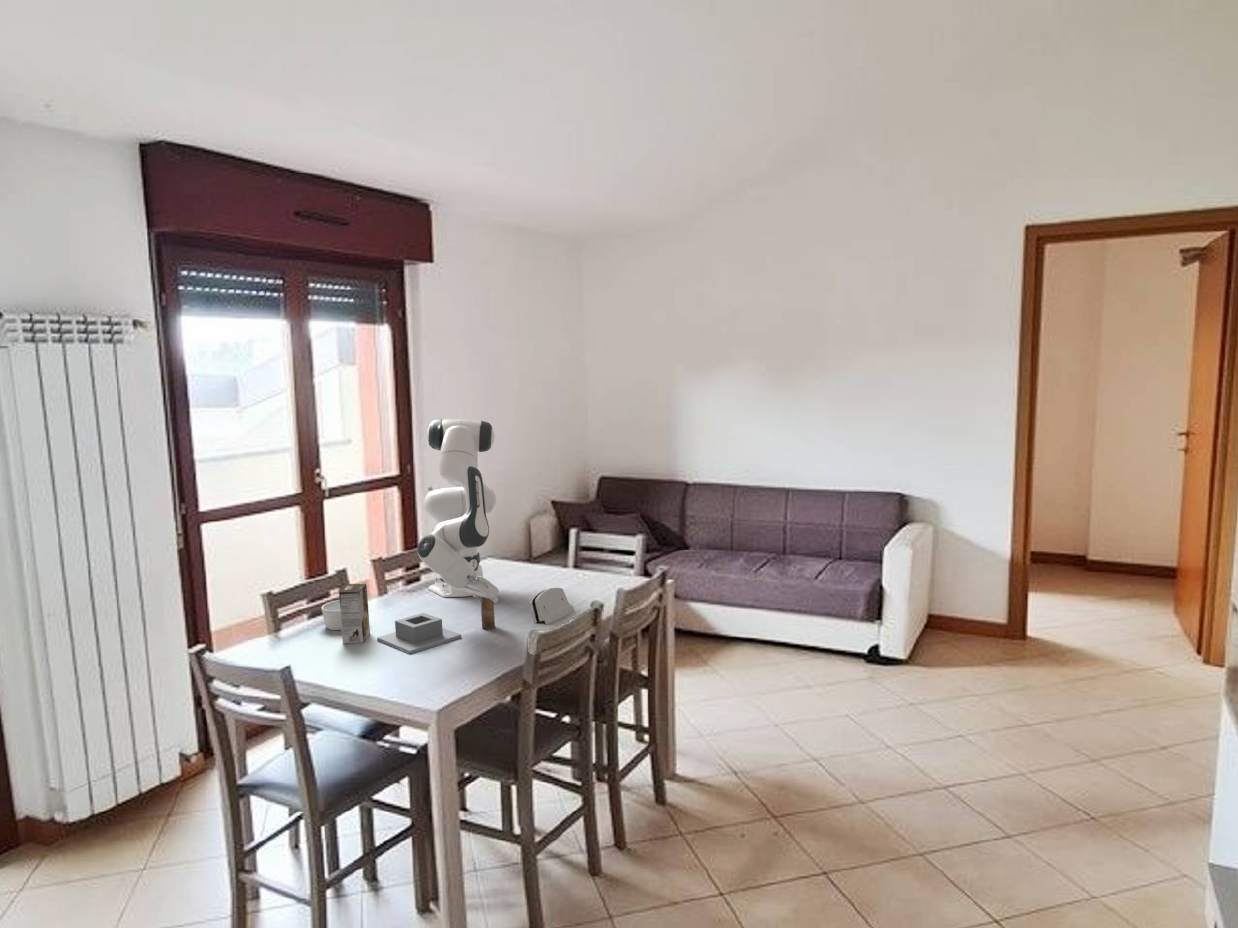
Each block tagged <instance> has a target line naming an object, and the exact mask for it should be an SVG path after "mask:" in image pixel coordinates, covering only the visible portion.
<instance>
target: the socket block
mask: <svg viewBox="0 0 1238 928" xmlns="http://www.w3.org/2000/svg"><path fill="white" fill-rule="evenodd" d="M394 627H395V631H394V632H391V633H388V634H384V635H382V636H378V637H377V638H376V639H377V640H376V641H377V642H379V641H380V643H382V644H384V643H385V645H387V646H388V647H389V646H390V647H391V646H392V648H393V649H396V648H397V649H396V650H399V649H401V650H403V651H402V652H404V651H405V652H404V653H406V652H408V653H412V654H414V653H413V652H415V653H417V652H416V651H418V652H421V651H424V650H427V649H430V648H434V647H436V646H440V645H443V644H446V643H450V642H453V641H455V640H459V639H462V638H463V637H462V634H461V633H459V632H455V631H453V630H451V629H447V628H445V627H443V620H442V618H439V617H437V616H434V615H431V614H428V613H425V612H421V613H417V614H414V615H412V616H411V615H410V616H407V617H403V618H400V619H397V620H395V621H394ZM423 649H424V650H423ZM401 650H400V651H401ZM420 650H421V651H420ZM408 653H407V654H408Z"/></svg>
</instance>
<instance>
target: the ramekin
mask: <svg viewBox="0 0 1238 928" xmlns="http://www.w3.org/2000/svg"><path fill="white" fill-rule="evenodd" d="M321 612H322V613H321V614H322V618H323V622H324V626H325V627H326V628H327V629H328V630H329V631H335V630H341V631H342V624H341V609H340V599H337V600H333V601H329V602H326V603H325V604H323V605H322V606H321Z"/></svg>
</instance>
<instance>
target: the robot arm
mask: <svg viewBox="0 0 1238 928" xmlns="http://www.w3.org/2000/svg"><path fill="white" fill-rule="evenodd" d="M426 440H427V442H428V446H429V447H430V448H431V449H433V450H436V451H439V452H440V453H439V460H438V469H439V474H440V477H442V479H443V480H444V481H445V482H447V483H448V484H451V485H453V486H454V487H442V488H438V489H434V490H430V491H429V492H427V493H426V496H425V497H424V500H423V507H424V511H425V513H426V514H427V515H428V516H429V517H430V518H431V519H433V520H435V522H437V524H435V526H434V527H433V528H432V531H431V532H430V533H429V534H428V533H427V534H426V535H425V536H423V537H422V538H421V540H420V541H419V543H418V545H417V555H418V556H419V558H420V560H421V561H422V562H423V563H424V565H425V566H427V568H428V569H430V570H431V571H432V573H433V572H434V573H435V577H434V583H432V584H431V585H430V586H428V590H430V591H431V592H433V593H435V594H437V595H439V596H440V597H442V598H453V597H456V598H457V597H459V598H460V597H462V598H463V597H471V596H472V597H474V598H479V597H480V598H481V597H485V598H488V599H490V600H491V601H492V602H494V604H497V602H498V601H499V597H498V596H497V595H498V593H499V591H500V590H499V588H498V587H497V586H495V585H494V584H493V583H492V582H491V581H489V580H488V579H487V578H485V577H484V572H483V566H482V565H481V564H480V563H481V556H480V552H479V547H482V546H484V545H485V543H486V541H487V540H488V538H489V536H490V535H489V534H490V526H489V521H488V519H487V517H488V516H487V514H488V513H492V512H493V510H494V509H495V507H496V504H497V496H496V493H495V491H494V490H493V489H492V488H491V487H490V486H488V485H486V484H485V483H484V480H483V476H482V473H481V471H480V470H479V469H478V468H479V467H478V453H484V452H485V453H486V452H488V451H489V450H490V449H492V446H493V444H494V441H495V431H494V428H493V426H492V424H491V423H490V422H488V421H484V420H479V421H478V420H474V419H467V418H461V419H458V418H456V419H455V418H451V419H448V418H447V419H442V418H437V419H434V420H433V419H432V421H431V422H430V423H429V425H428V428H427V431H426ZM455 486H456V487H455Z"/></svg>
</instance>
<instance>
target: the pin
mask: <svg viewBox="0 0 1238 928" xmlns="http://www.w3.org/2000/svg"><path fill="white" fill-rule="evenodd" d="M480 608H481V609H480V611H481V614H480V615H481V629H482V630H485V631H489V630H494V629H495V628H496V622H495V603H494V602H492V601H491V600H490V599H488V598H485V597H481V596H480Z"/></svg>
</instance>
